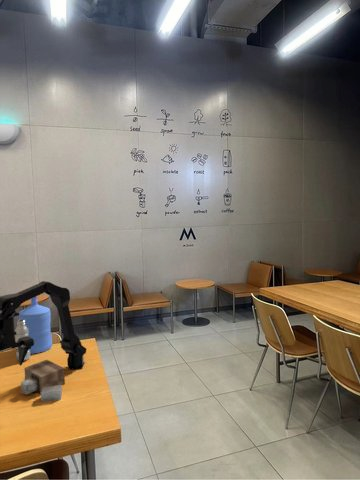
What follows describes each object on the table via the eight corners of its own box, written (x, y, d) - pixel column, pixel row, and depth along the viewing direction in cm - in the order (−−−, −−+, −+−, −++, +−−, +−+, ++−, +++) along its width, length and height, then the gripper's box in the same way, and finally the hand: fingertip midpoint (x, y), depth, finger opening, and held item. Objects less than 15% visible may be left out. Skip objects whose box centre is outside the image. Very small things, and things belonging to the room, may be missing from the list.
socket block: (47, 374, 148) (46, 359, 148) (64, 383, 140) (64, 367, 139) (25, 383, 141) (24, 368, 140) (42, 394, 132) (41, 377, 131)
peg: (38, 384, 138) (37, 375, 137) (43, 387, 135) (42, 377, 135) (21, 391, 132) (20, 382, 132) (26, 394, 130) (25, 385, 130)
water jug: (41, 355, 170) (38, 301, 168) (14, 353, 173) (10, 301, 171) (58, 343, 185) (55, 294, 183) (33, 342, 188) (30, 294, 186)
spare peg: (61, 394, 132) (61, 384, 131) (60, 399, 128) (60, 389, 127) (43, 397, 130) (42, 387, 130) (41, 402, 126) (40, 392, 126)
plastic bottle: (33, 357, 168) (31, 318, 167) (26, 362, 161) (23, 322, 160) (21, 356, 169) (19, 318, 167) (13, 362, 162) (11, 322, 161)
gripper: (20, 319, 138) (22, 356, 139) (-30, 332, 124) (-27, 372, 125) (34, 324, 131) (35, 363, 132) (-18, 338, 117) (-15, 381, 118)
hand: (8, 369), depth 127 cm, fingers open, 9 cm apart
